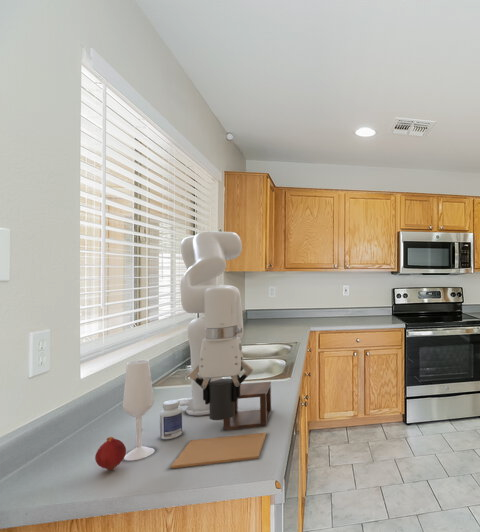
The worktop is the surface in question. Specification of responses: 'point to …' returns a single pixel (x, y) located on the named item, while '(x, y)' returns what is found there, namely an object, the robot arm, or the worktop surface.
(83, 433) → the worktop surface
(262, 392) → the wooden frame
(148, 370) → the champagne flute
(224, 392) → the dark grey cylinder
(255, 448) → the mat
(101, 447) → the onion
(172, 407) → the pill bottle
